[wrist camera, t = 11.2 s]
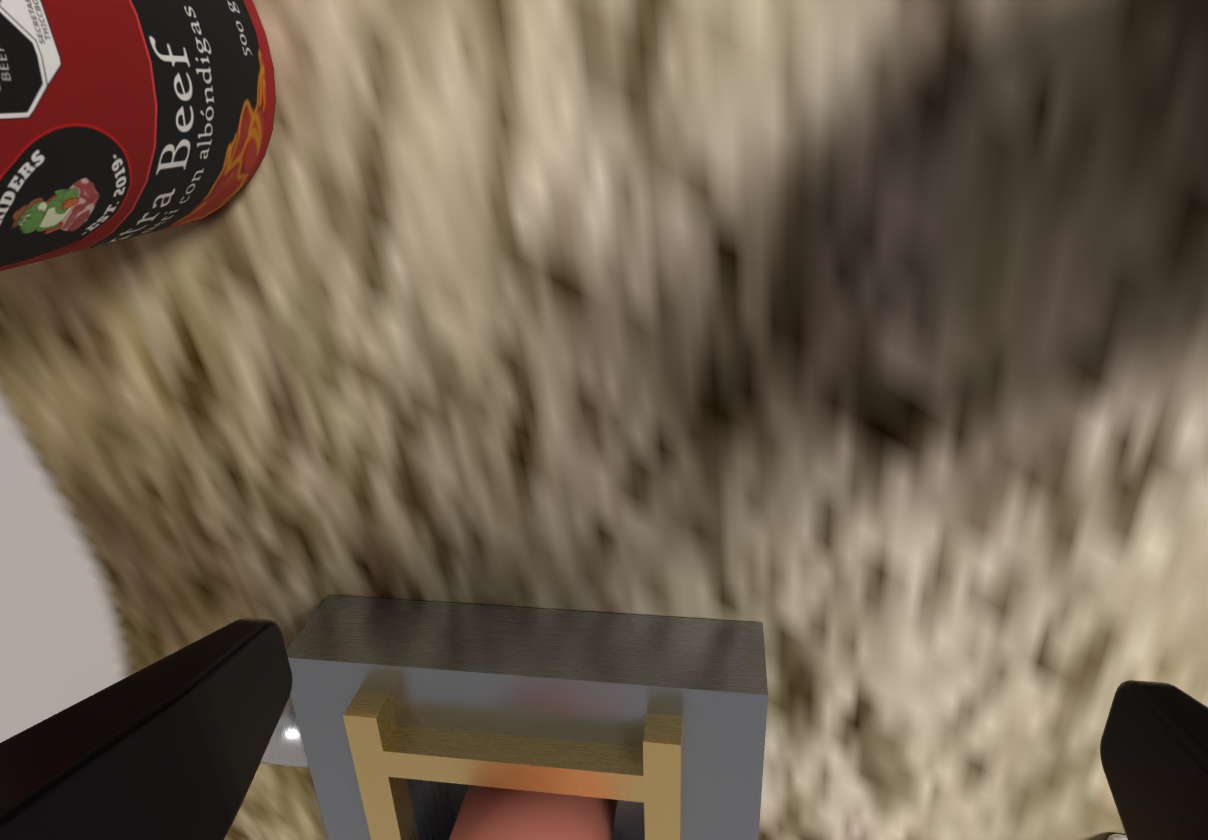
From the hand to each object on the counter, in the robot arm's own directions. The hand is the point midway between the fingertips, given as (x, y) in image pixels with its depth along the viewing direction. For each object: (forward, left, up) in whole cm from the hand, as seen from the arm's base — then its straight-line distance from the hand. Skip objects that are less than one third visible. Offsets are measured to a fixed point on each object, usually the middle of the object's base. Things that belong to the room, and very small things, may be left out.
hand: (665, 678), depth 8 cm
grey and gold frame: (+7, +16, -13) cm, 21 cm away
